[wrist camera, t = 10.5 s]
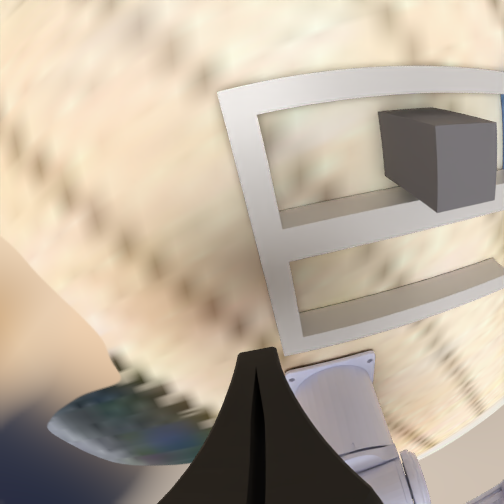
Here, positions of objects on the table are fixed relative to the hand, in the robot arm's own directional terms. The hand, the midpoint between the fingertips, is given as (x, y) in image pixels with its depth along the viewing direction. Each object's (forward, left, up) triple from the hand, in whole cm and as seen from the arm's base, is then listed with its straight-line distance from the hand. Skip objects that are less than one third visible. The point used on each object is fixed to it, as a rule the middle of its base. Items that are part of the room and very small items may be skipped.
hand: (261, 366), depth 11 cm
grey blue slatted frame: (+1, -11, -9) cm, 15 cm away
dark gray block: (+5, -11, -10) cm, 15 cm away
